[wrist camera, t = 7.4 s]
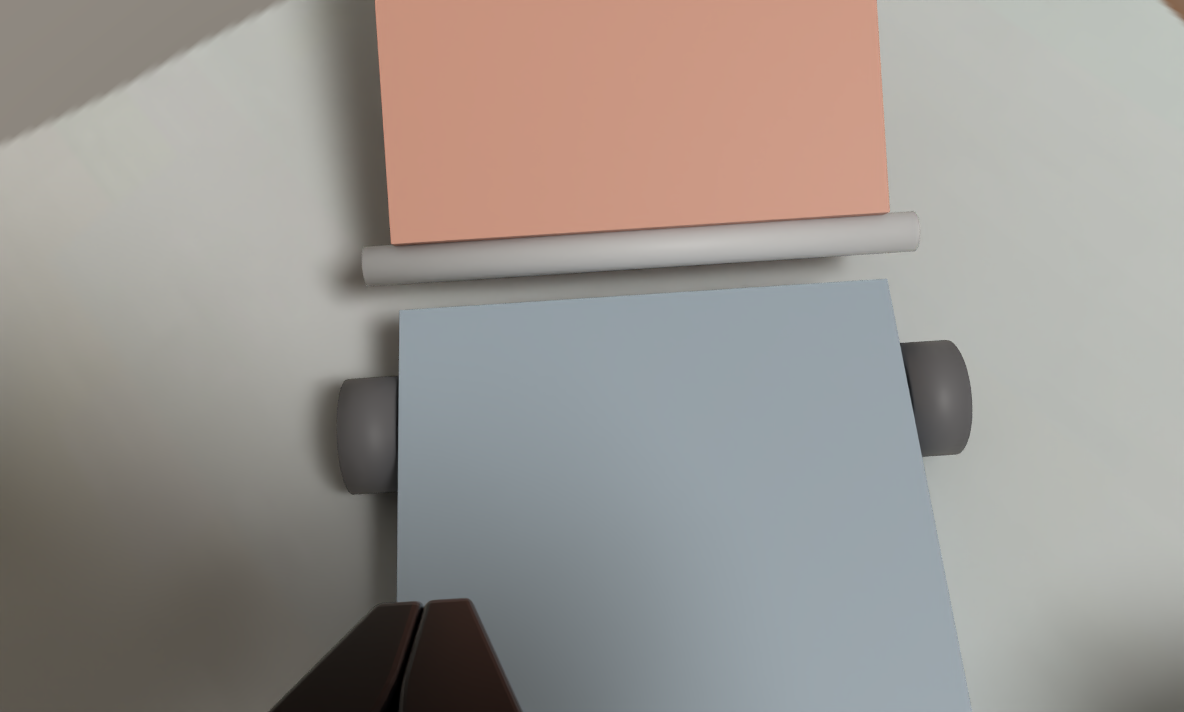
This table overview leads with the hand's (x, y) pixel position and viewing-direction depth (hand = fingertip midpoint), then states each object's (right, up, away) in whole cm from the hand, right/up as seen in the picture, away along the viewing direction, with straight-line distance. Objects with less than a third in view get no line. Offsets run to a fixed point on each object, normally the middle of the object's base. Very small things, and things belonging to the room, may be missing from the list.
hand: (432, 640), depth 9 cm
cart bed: (+3, -3, +13) cm, 14 cm away
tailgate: (+3, +5, +14) cm, 15 cm away
